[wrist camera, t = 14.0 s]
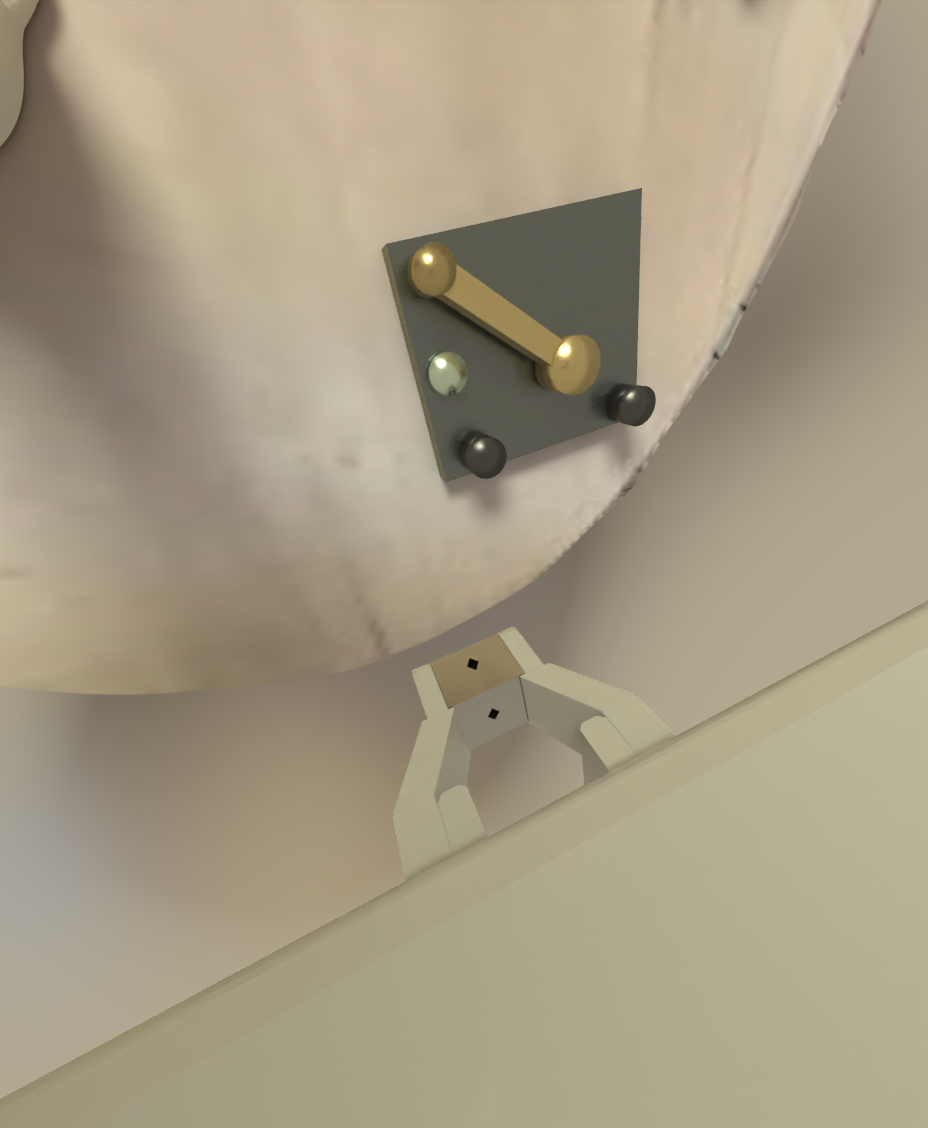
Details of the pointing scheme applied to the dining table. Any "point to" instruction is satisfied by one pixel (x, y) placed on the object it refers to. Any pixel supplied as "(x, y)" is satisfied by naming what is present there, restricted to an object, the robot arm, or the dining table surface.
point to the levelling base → (549, 296)
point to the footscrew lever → (506, 321)
